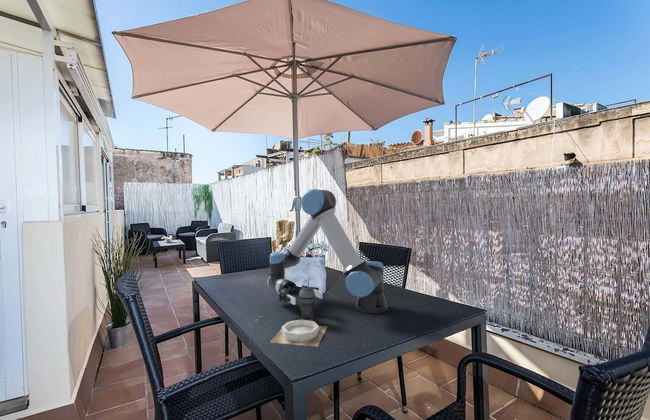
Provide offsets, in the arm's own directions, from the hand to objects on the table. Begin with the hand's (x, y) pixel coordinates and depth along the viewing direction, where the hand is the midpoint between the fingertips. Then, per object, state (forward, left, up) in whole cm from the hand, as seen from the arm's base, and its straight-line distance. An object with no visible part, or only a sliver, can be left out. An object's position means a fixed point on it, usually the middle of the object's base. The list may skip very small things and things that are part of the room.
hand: (308, 298), depth 132 cm
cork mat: (-2, +12, -11) cm, 16 cm away
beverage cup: (+1, -1, -11) cm, 11 cm away
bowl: (-2, +12, -10) cm, 16 cm away
